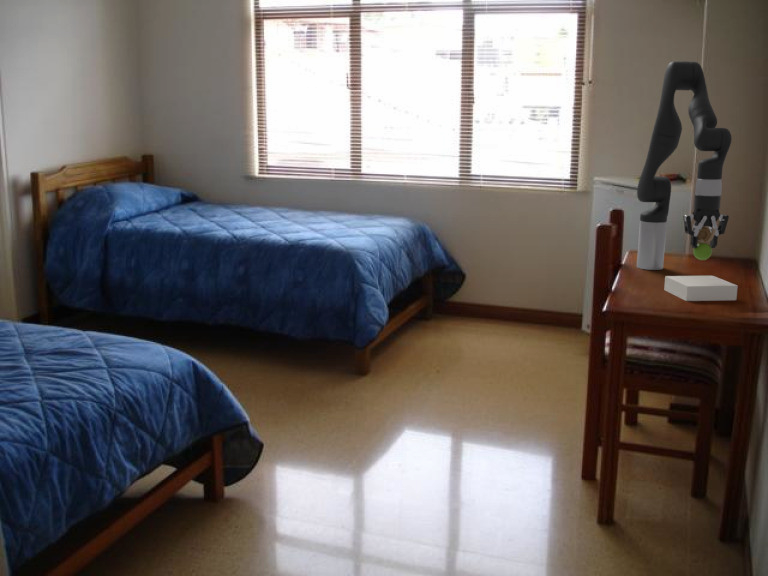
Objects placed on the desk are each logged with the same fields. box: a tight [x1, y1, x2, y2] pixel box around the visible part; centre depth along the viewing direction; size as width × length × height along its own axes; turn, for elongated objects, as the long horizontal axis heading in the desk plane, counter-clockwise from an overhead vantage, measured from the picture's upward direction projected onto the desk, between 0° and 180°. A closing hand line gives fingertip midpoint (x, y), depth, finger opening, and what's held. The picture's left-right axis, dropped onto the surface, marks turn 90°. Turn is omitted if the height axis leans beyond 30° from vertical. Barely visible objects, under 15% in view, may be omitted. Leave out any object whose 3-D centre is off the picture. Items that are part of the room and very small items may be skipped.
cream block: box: [663, 275, 739, 302], centre depth 258 cm, size 16×16×5 cm
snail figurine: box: [692, 221, 718, 261], centre depth 254 cm, size 5×6×12 cm
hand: (703, 247), depth 255 cm, fingers closed on snail figurine, 5 cm apart
